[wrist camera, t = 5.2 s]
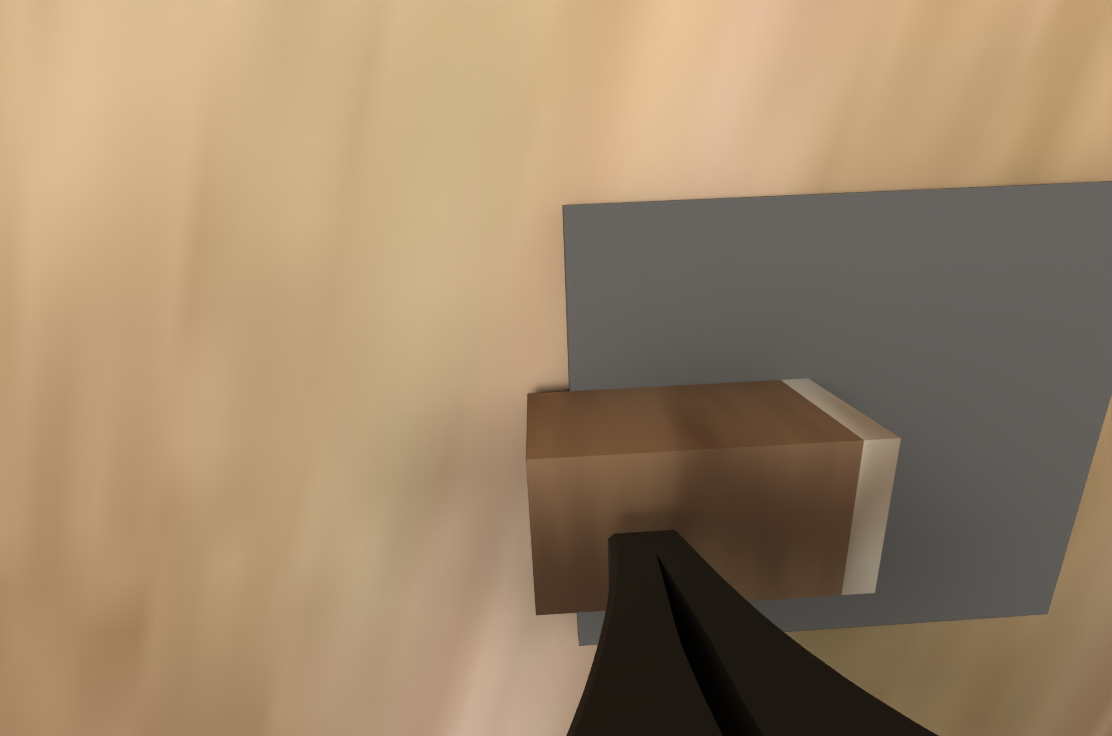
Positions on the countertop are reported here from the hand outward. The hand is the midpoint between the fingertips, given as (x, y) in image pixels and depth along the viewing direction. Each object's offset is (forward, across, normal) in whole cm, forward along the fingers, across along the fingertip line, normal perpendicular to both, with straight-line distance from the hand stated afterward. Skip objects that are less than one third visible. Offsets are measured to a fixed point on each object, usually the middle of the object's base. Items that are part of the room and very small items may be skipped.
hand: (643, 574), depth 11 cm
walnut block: (+3, +2, 0) cm, 4 cm away
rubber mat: (+6, -7, 0) cm, 9 cm away
